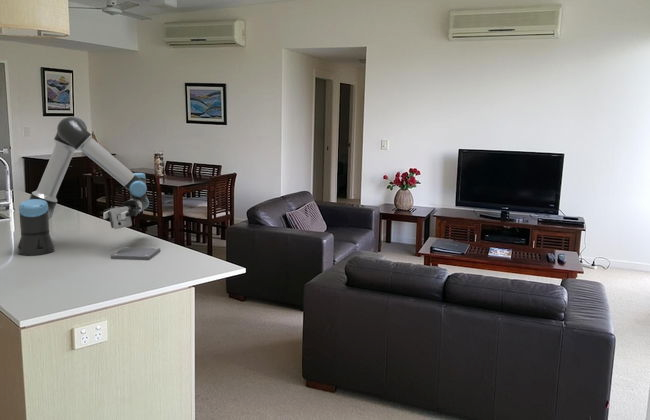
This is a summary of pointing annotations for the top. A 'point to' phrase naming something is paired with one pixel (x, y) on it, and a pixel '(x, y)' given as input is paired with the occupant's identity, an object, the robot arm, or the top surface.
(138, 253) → the mounting plate
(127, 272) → the top surface
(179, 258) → the top surface
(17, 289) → the top surface
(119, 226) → the electrical switch
